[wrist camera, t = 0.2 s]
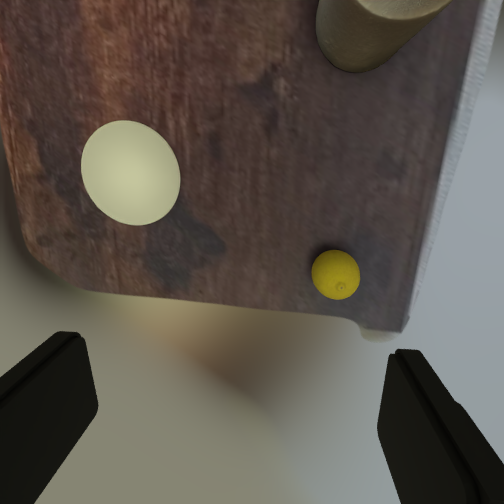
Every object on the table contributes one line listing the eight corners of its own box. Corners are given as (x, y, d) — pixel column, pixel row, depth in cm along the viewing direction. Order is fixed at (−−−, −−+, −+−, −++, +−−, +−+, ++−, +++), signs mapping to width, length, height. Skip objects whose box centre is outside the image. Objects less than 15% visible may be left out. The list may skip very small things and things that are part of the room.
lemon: (342, 286, 41) (356, 316, 34) (303, 274, 41) (308, 302, 34) (358, 249, 39) (376, 272, 32) (317, 237, 39) (325, 257, 32)
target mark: (73, 120, 37) (72, 120, 37) (176, 120, 36) (175, 119, 36) (91, 223, 42) (90, 224, 41) (183, 225, 40) (183, 226, 40)
